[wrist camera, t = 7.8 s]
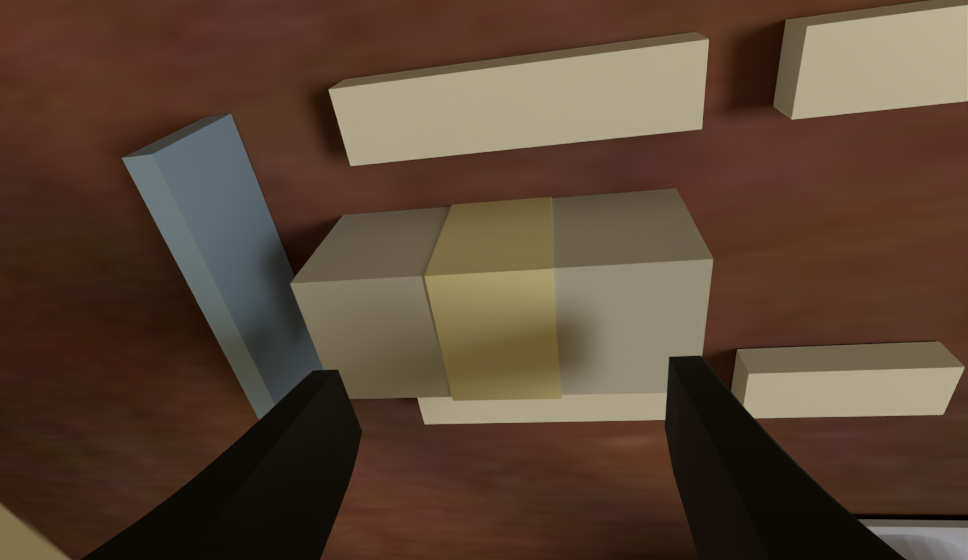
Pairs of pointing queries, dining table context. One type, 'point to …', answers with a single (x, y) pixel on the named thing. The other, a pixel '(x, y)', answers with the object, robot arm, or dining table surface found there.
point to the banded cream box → (509, 297)
